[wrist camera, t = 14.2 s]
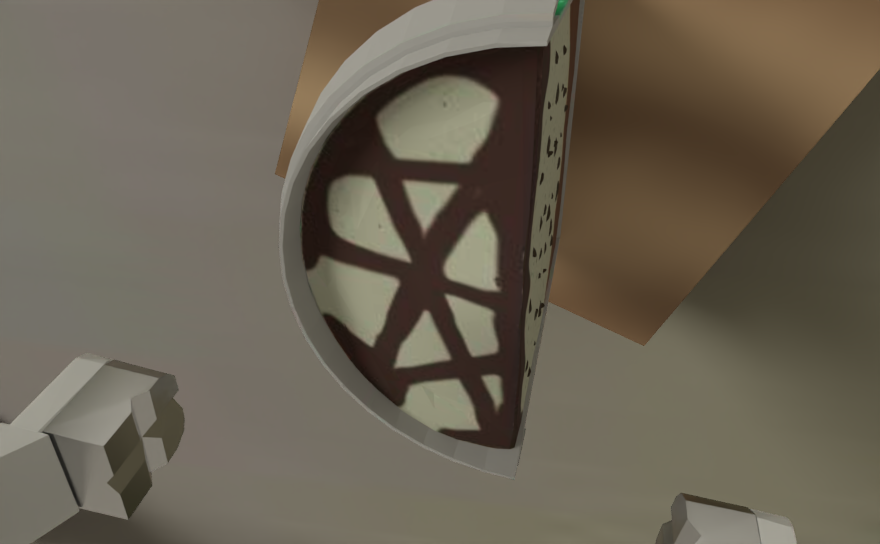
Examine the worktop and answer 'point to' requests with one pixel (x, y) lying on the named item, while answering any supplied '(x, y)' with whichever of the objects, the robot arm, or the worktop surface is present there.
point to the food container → (437, 219)
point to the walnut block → (661, 131)
